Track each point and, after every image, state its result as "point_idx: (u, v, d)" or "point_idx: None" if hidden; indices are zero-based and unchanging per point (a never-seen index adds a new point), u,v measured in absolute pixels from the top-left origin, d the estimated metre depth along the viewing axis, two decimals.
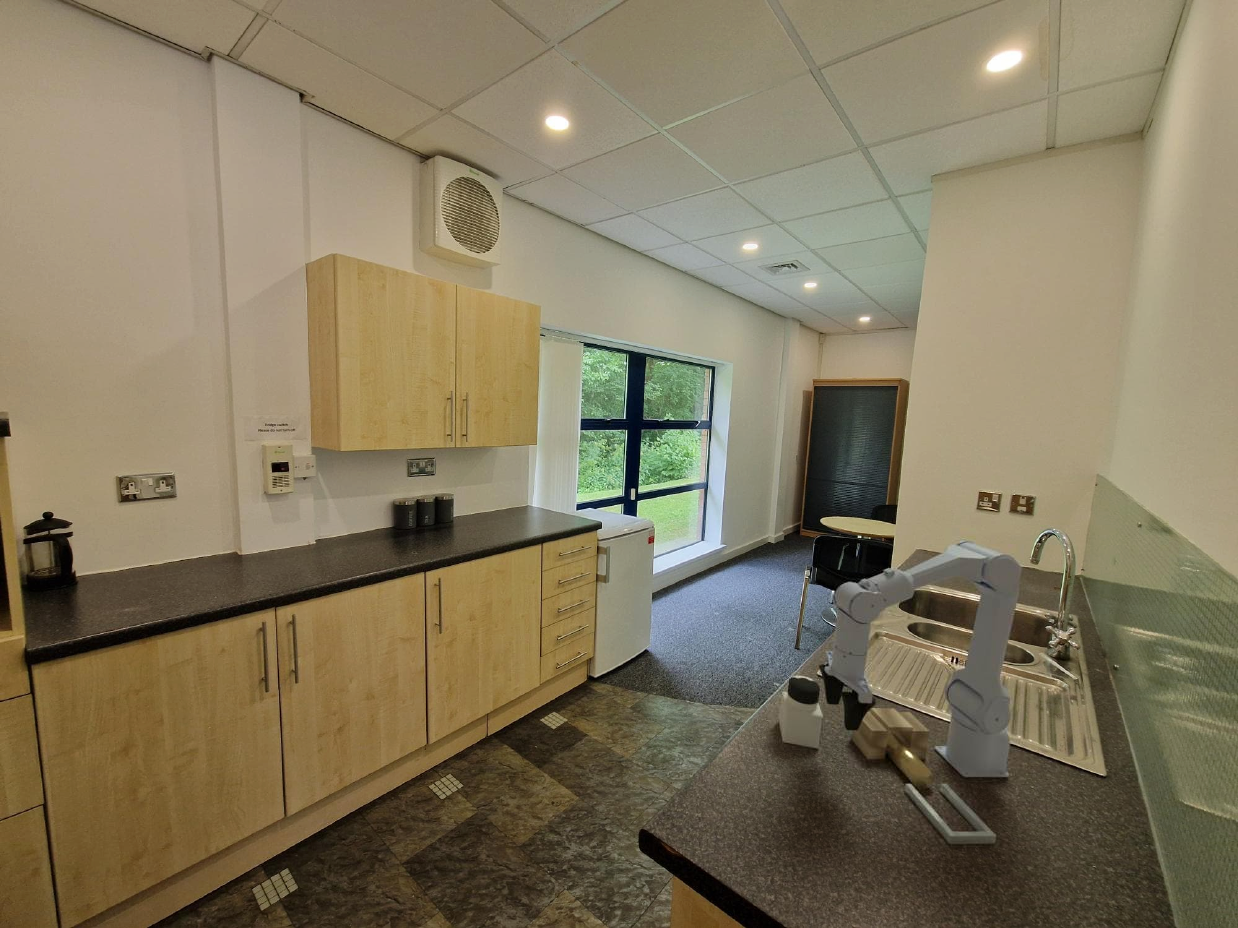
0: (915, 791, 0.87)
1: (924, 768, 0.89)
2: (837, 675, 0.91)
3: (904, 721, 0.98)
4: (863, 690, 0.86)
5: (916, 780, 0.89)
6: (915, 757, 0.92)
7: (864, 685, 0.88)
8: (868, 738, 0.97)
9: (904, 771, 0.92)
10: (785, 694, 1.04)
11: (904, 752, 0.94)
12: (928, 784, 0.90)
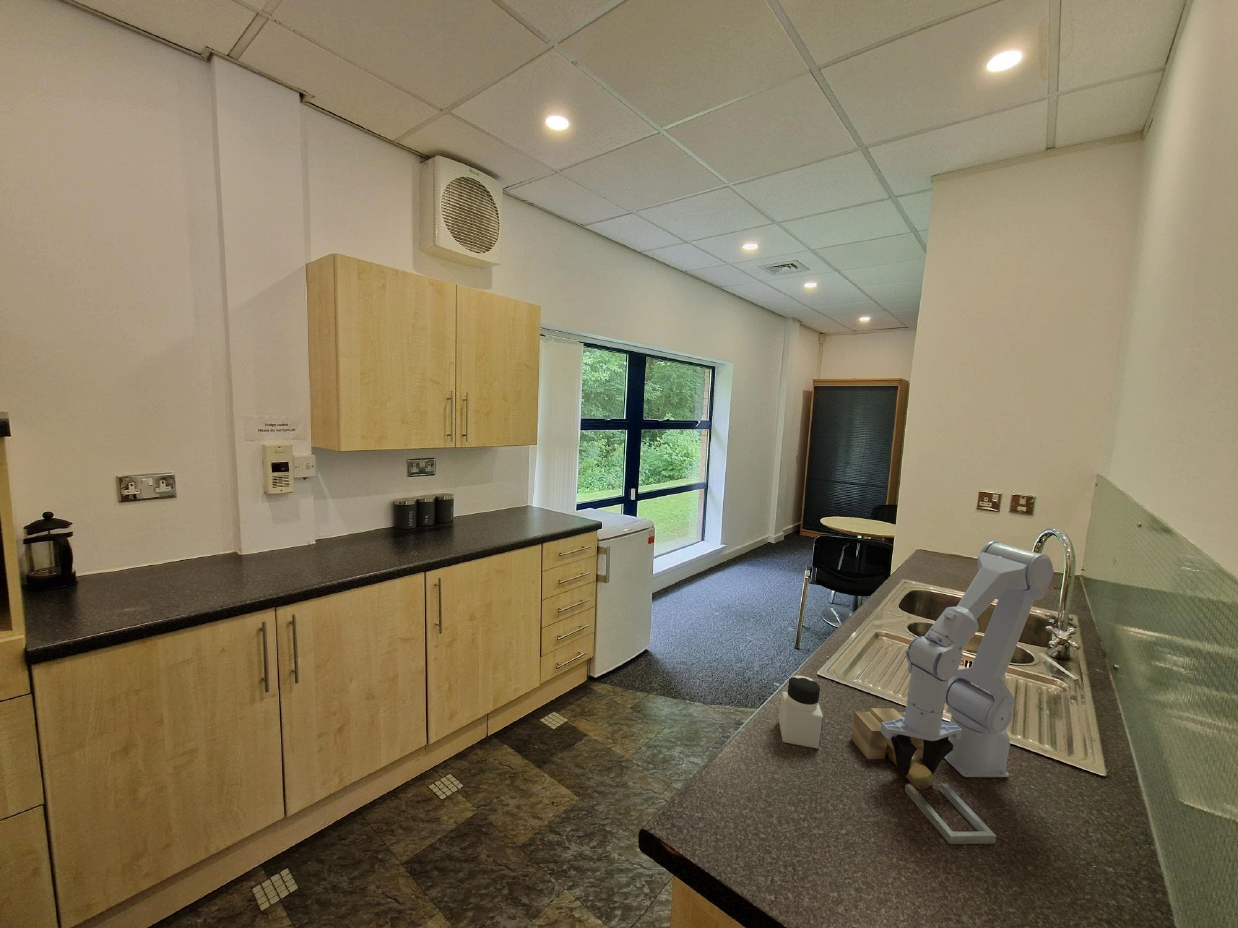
0: (915, 791, 0.87)
1: (922, 768, 0.89)
2: None
3: None
4: None
5: (915, 780, 0.89)
6: (913, 757, 0.92)
7: (900, 729, 0.90)
8: (868, 738, 0.97)
9: None
10: (785, 694, 1.04)
11: None
12: (928, 784, 0.90)
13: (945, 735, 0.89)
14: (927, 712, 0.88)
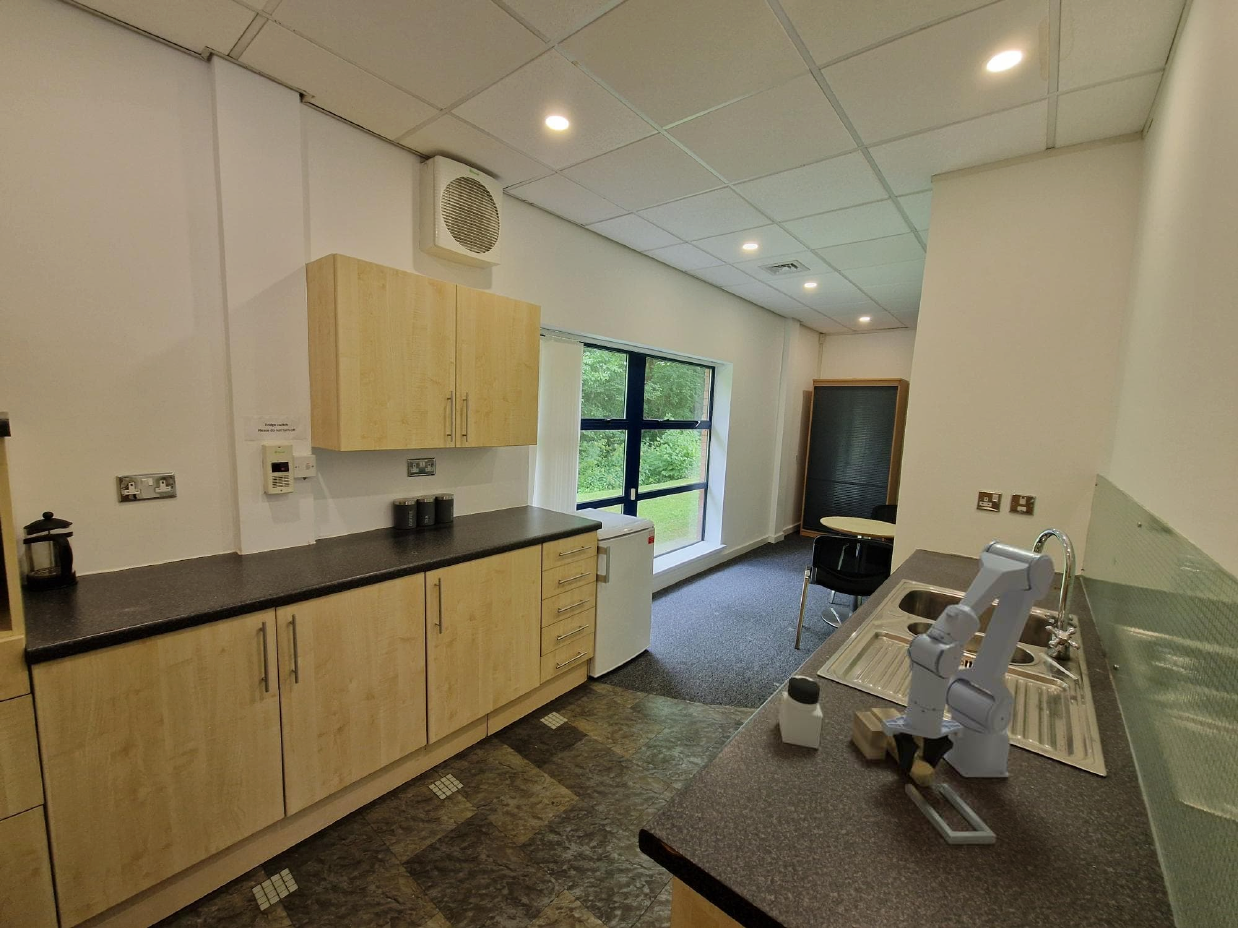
0: (915, 791, 0.87)
1: (926, 765, 0.89)
2: None
3: None
4: None
5: (918, 776, 0.89)
6: (917, 754, 0.92)
7: (901, 727, 0.89)
8: (868, 738, 0.97)
9: None
10: (785, 694, 1.04)
11: None
12: (929, 781, 0.89)
13: (946, 733, 0.89)
14: (928, 710, 0.88)
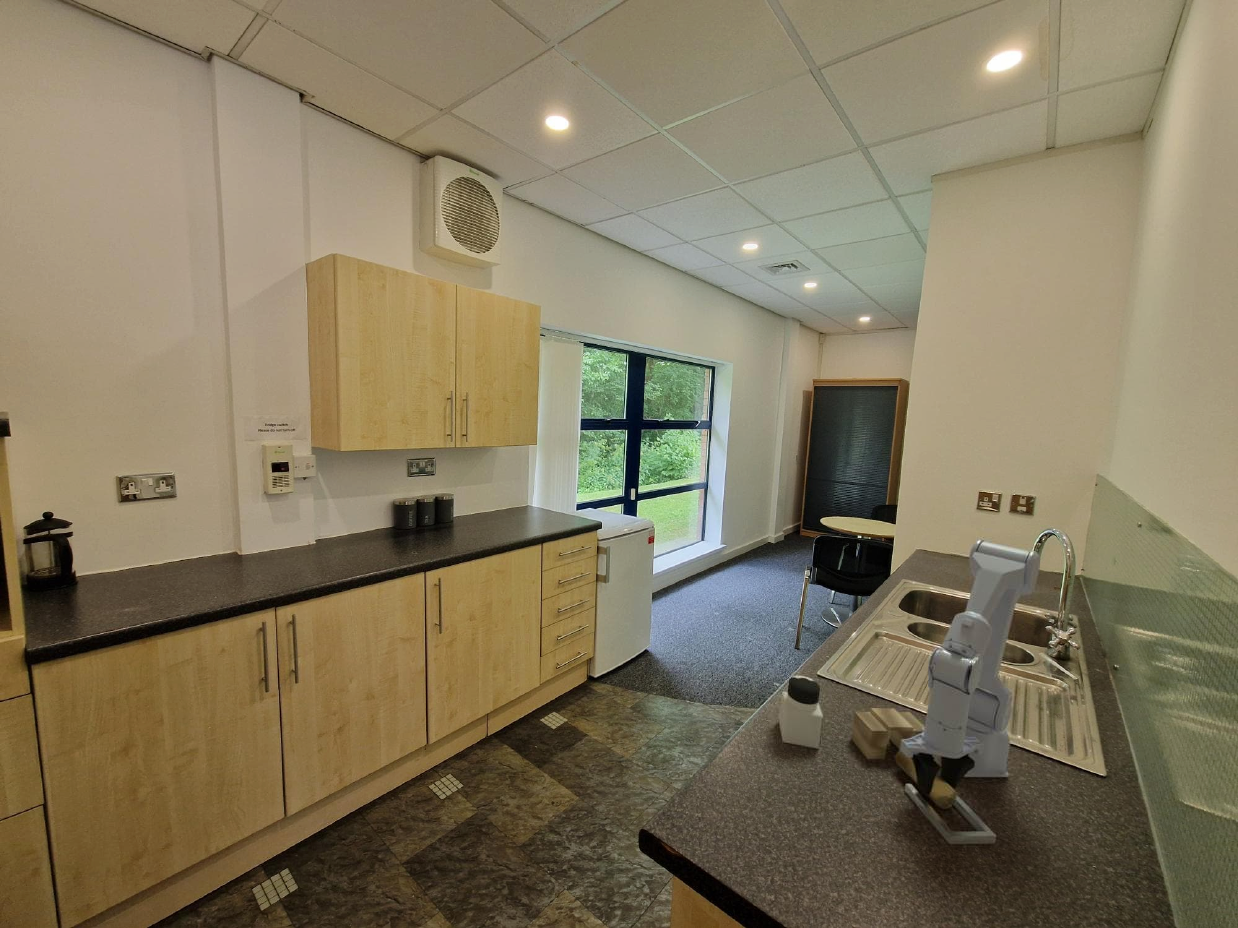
0: (915, 791, 0.87)
1: (947, 786, 0.84)
2: None
3: (904, 721, 0.98)
4: None
5: (939, 798, 0.84)
6: None
7: (921, 746, 0.84)
8: (868, 738, 0.97)
9: None
10: (785, 694, 1.04)
11: None
12: (950, 803, 0.85)
13: (968, 751, 0.84)
14: (950, 728, 0.83)
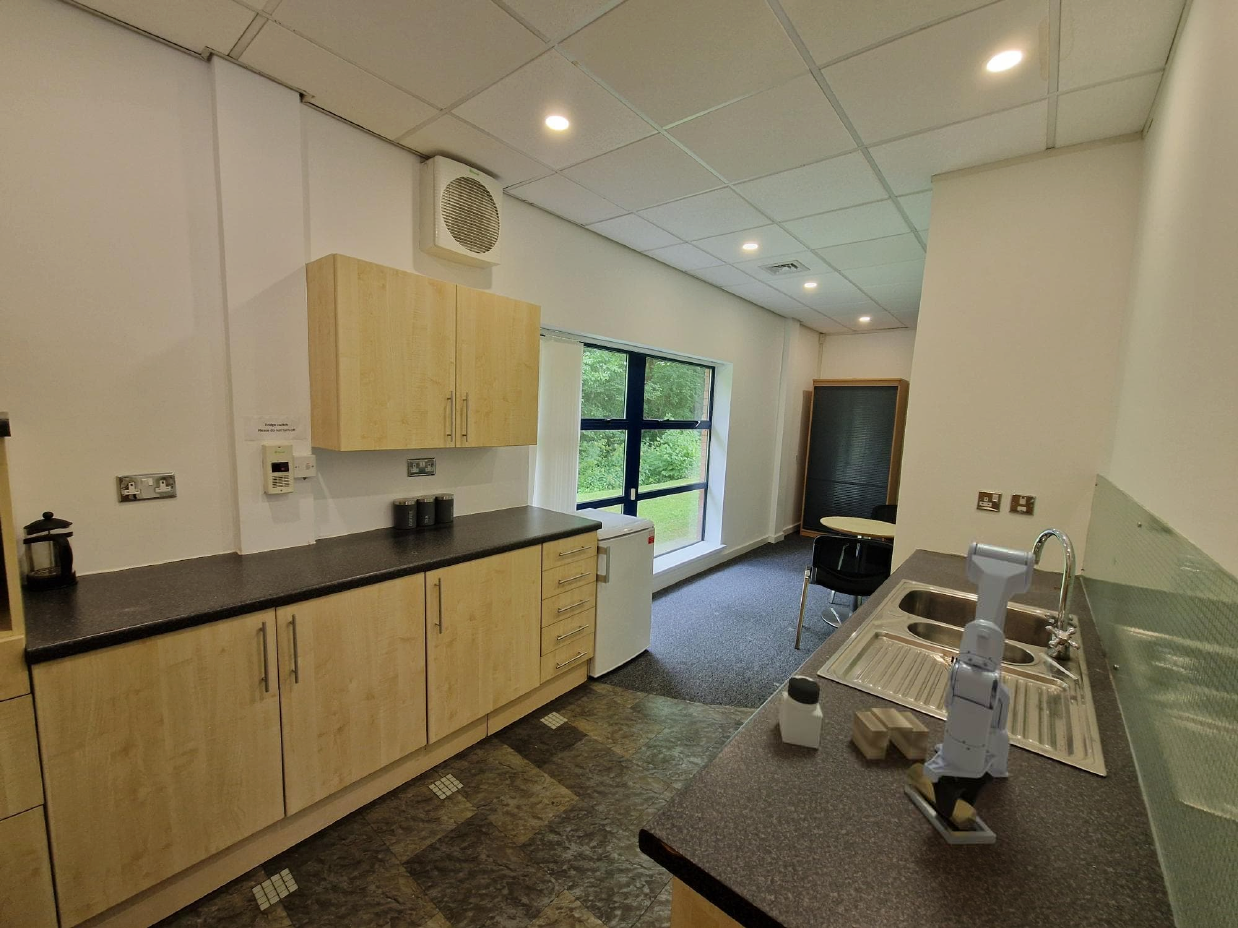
0: (915, 791, 0.87)
1: (968, 806, 0.80)
2: (939, 751, 0.83)
3: (904, 721, 0.98)
4: (932, 766, 0.80)
5: (960, 820, 0.80)
6: None
7: (945, 769, 0.79)
8: (868, 738, 0.97)
9: None
10: (785, 694, 1.04)
11: None
12: (970, 823, 0.81)
13: (987, 767, 0.80)
14: (974, 747, 0.78)
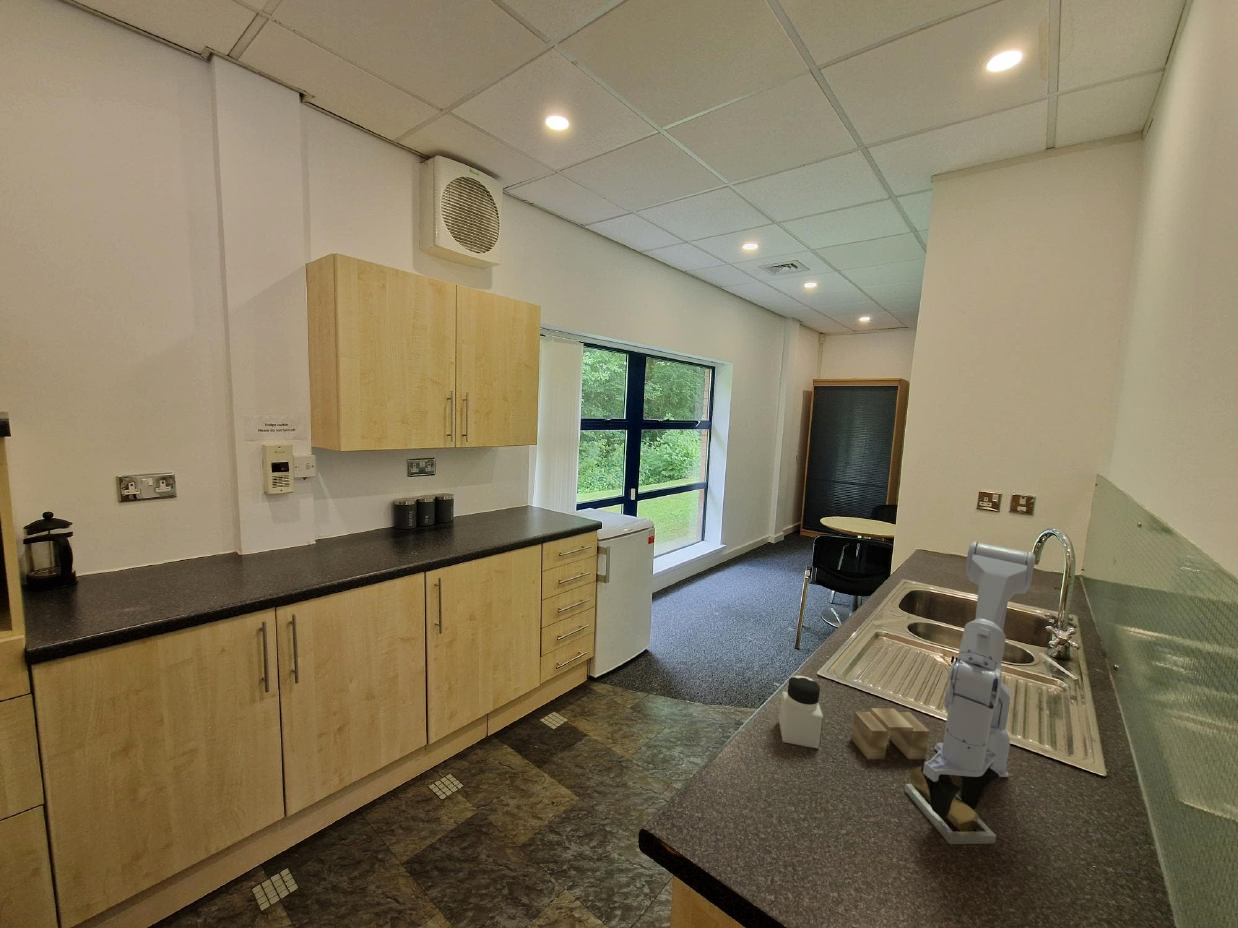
0: (915, 791, 0.87)
1: (973, 810, 0.81)
2: (939, 750, 0.83)
3: (904, 721, 0.98)
4: (933, 765, 0.80)
5: (962, 820, 0.80)
6: (958, 797, 0.84)
7: (946, 768, 0.79)
8: (868, 738, 0.97)
9: None
10: (785, 694, 1.04)
11: None
12: (969, 829, 0.81)
13: (987, 766, 0.80)
14: (975, 746, 0.78)
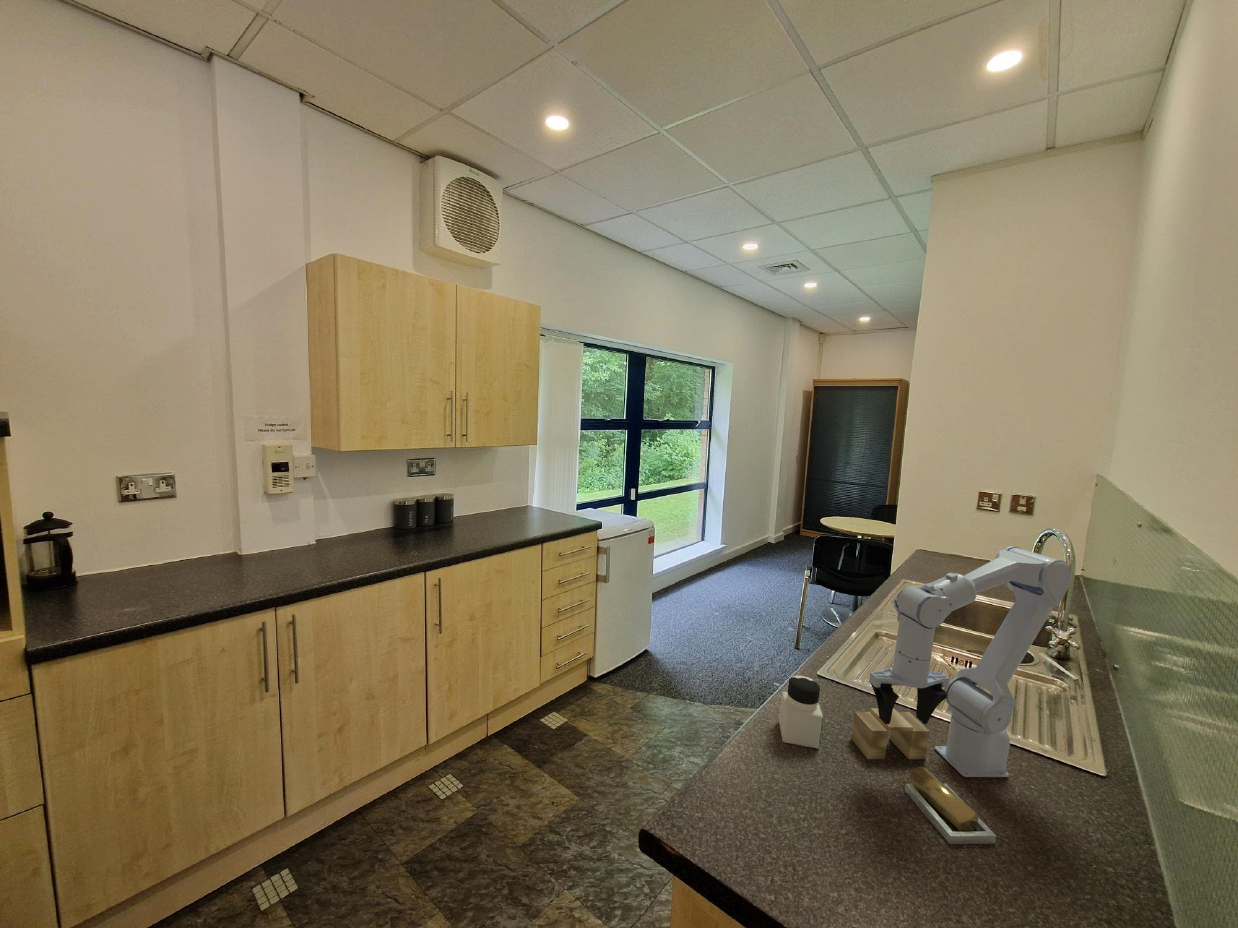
0: (915, 791, 0.87)
1: (973, 811, 0.81)
2: None
3: (904, 721, 0.98)
4: (877, 675, 0.91)
5: (962, 819, 0.80)
6: (958, 797, 0.84)
7: (888, 678, 0.90)
8: (868, 738, 0.97)
9: (946, 808, 0.82)
10: (785, 694, 1.04)
11: (946, 789, 0.85)
12: (968, 829, 0.81)
13: (932, 683, 0.90)
14: (915, 660, 0.89)
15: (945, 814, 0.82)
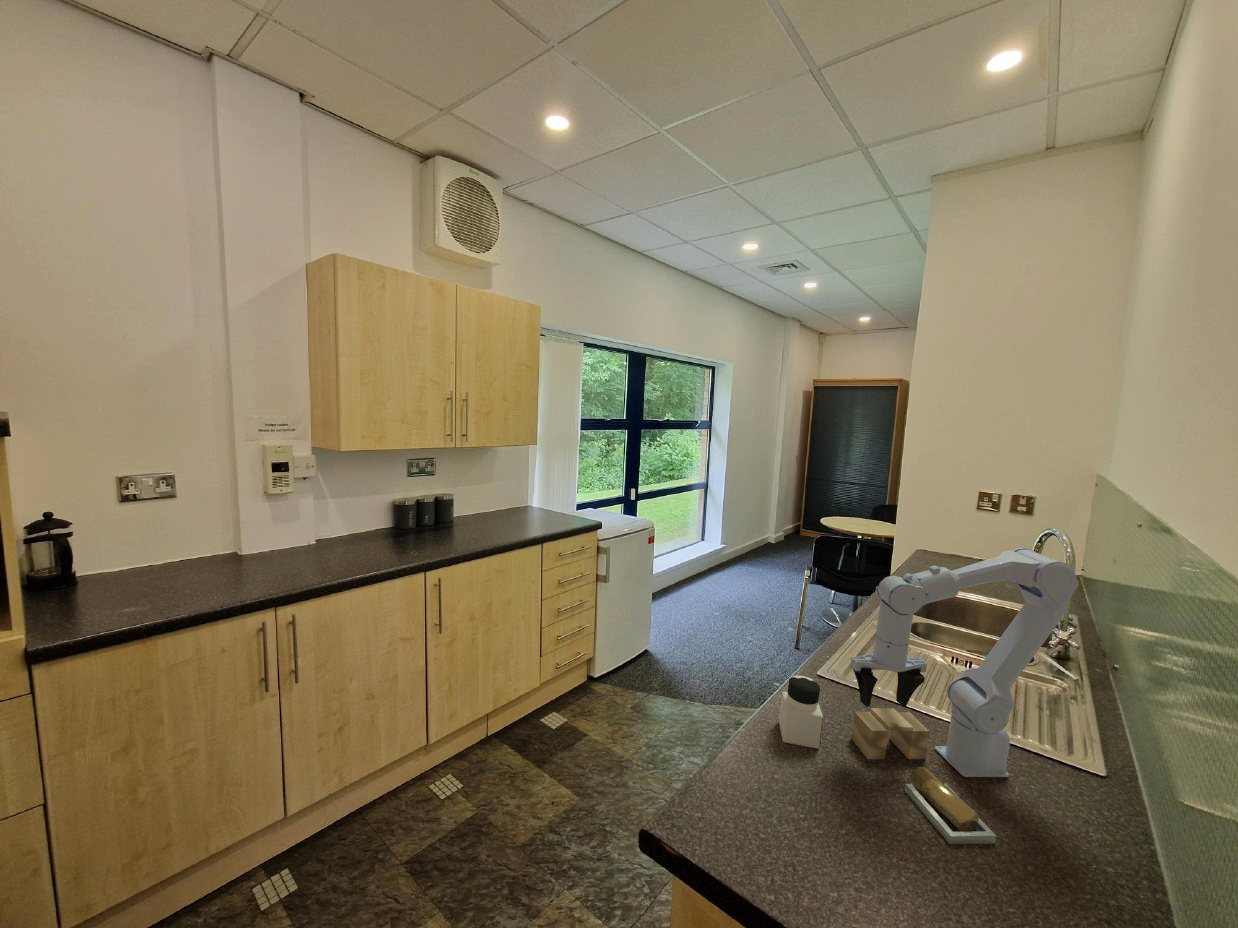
0: (915, 791, 0.87)
1: (974, 811, 0.81)
2: None
3: (904, 721, 0.98)
4: None
5: (963, 819, 0.80)
6: (959, 798, 0.84)
7: (868, 662, 0.95)
8: (868, 738, 0.97)
9: (946, 807, 0.82)
10: (785, 694, 1.04)
11: (947, 789, 0.85)
12: (969, 829, 0.81)
13: (910, 667, 0.95)
14: (893, 645, 0.93)
15: (945, 814, 0.82)
